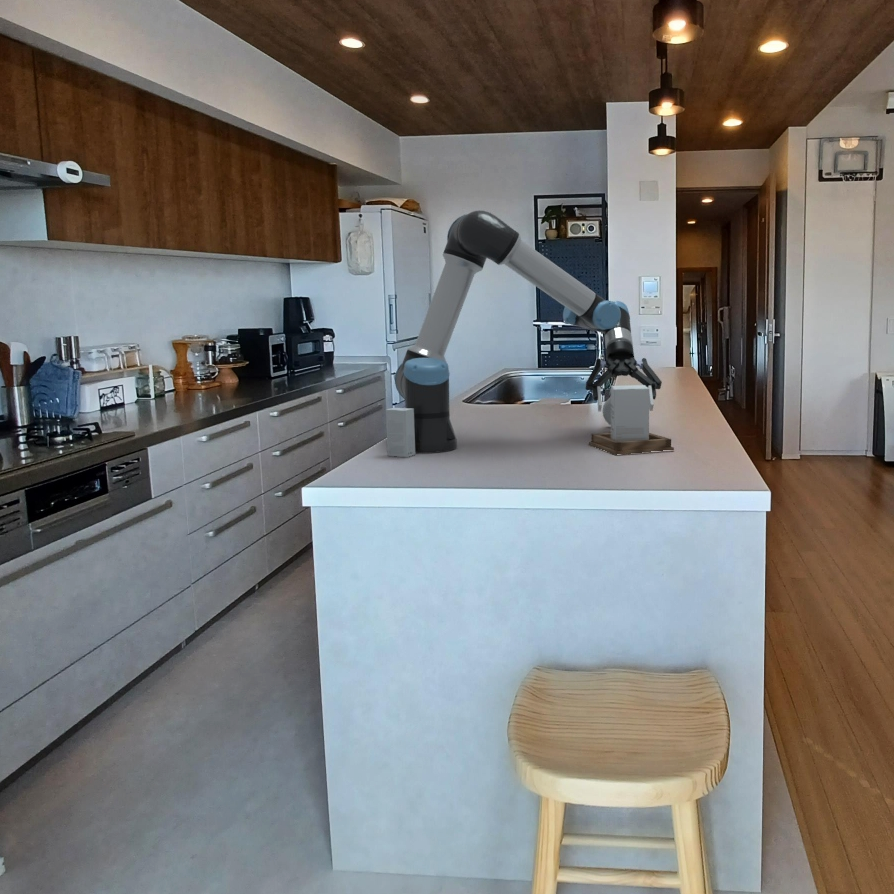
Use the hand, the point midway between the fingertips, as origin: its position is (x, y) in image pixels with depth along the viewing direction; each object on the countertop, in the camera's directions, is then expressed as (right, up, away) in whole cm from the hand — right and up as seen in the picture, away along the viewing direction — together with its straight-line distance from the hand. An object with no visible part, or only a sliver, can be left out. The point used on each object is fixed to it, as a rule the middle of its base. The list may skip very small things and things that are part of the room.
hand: (625, 408), depth 230 cm
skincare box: (-59, -13, -11) cm, 62 cm away
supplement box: (-1, -10, -7) cm, 12 cm away
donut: (+4, -5, +27) cm, 28 cm away
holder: (0, -11, -7) cm, 13 cm away
